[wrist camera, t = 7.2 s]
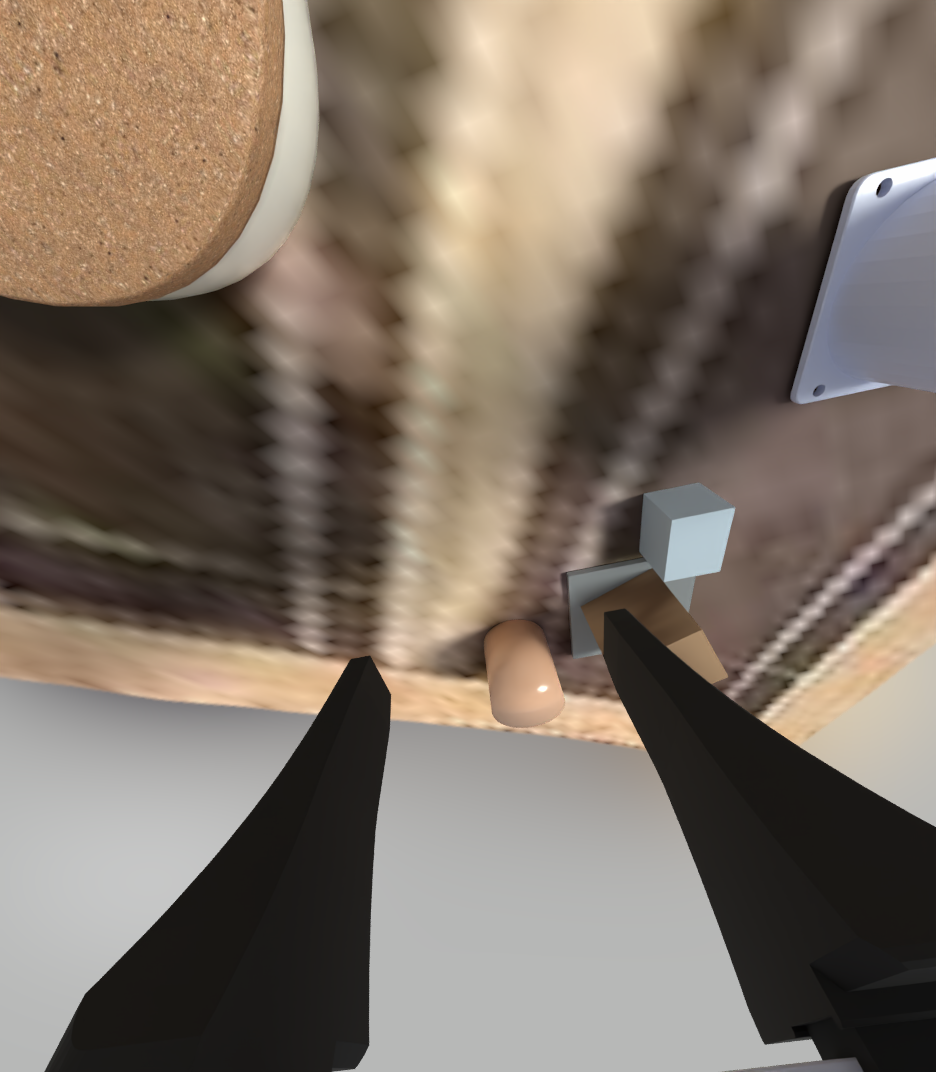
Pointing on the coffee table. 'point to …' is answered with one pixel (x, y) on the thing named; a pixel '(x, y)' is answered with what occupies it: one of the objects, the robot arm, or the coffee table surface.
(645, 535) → the blue plastic box
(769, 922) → the robot arm
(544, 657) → the tan rounded cylinder
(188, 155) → the lidded jar
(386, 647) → the coffee table surface
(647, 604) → the walnut block
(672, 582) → the slate coaster
